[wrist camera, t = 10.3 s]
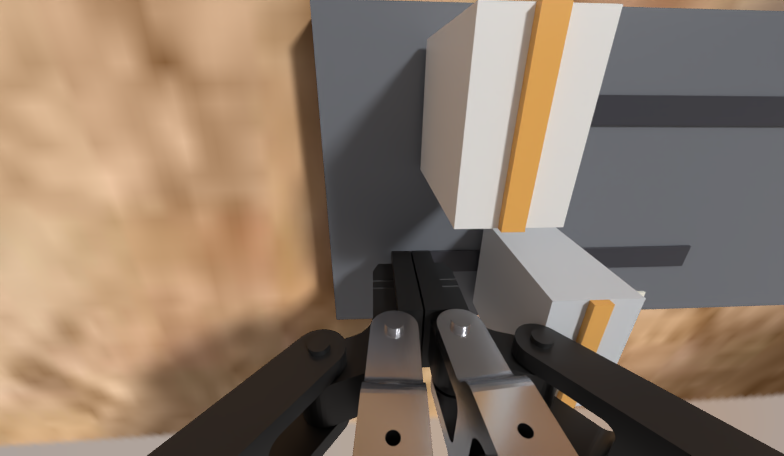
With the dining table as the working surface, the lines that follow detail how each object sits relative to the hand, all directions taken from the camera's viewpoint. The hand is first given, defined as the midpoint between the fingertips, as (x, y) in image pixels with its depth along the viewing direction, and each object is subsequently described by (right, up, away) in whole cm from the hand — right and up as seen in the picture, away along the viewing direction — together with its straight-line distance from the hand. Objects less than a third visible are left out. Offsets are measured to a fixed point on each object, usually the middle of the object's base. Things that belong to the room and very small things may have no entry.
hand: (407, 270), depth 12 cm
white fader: (+2, +6, -2) cm, 6 cm away
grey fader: (+4, 0, +1) cm, 4 cm away
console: (+9, +4, +1) cm, 10 cm away
